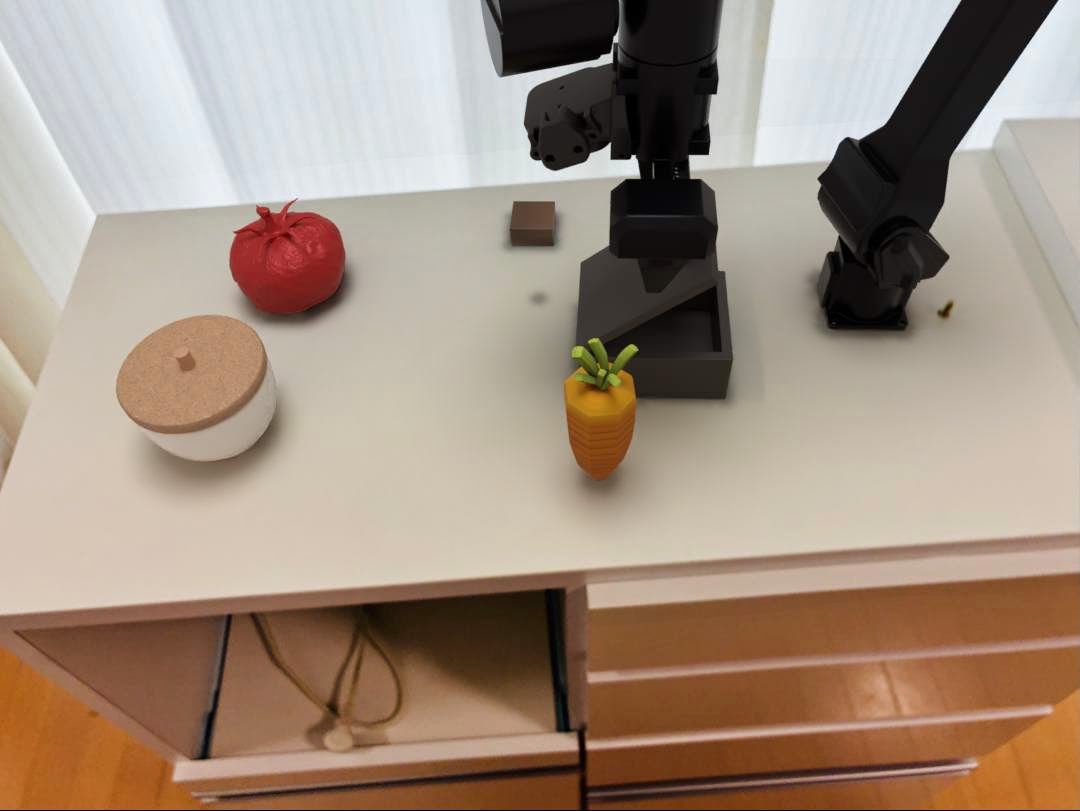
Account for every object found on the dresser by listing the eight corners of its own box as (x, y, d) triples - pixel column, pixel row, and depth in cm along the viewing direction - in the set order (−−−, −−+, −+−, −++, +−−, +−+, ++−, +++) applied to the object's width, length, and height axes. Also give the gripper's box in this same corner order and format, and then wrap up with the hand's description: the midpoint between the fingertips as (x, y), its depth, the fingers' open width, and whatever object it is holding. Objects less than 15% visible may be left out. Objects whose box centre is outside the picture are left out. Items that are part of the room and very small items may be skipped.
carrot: (639, 458, 63) (650, 324, 51) (622, 513, 60) (629, 384, 48) (577, 443, 64) (573, 307, 52) (557, 496, 61) (548, 365, 49)
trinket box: (294, 367, 70) (258, 288, 62) (293, 472, 63) (253, 397, 56) (166, 388, 69) (115, 310, 62) (152, 496, 63) (92, 424, 55)
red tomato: (359, 314, 73) (333, 233, 66) (246, 337, 72) (207, 258, 65) (348, 242, 79) (323, 160, 72) (244, 263, 78) (207, 182, 71)
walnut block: (555, 217, 80) (555, 200, 78) (553, 245, 77) (552, 229, 76) (514, 217, 80) (513, 200, 79) (511, 245, 78) (509, 228, 76)
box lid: (712, 192, 61) (672, 148, 59) (720, 283, 56) (676, 239, 53) (586, 267, 68) (546, 231, 66) (581, 355, 63) (537, 320, 60)
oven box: (718, 311, 71) (725, 270, 67) (725, 399, 66) (733, 359, 62) (584, 309, 72) (583, 269, 68) (579, 395, 67) (578, 357, 63)
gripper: (539, -35, 54) (549, 166, 66) (513, 137, 42) (532, 340, 55) (713, -39, 53) (690, 166, 65) (734, 136, 41) (701, 343, 54)
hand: (652, 246), depth 60 cm, fingers open, 9 cm apart
